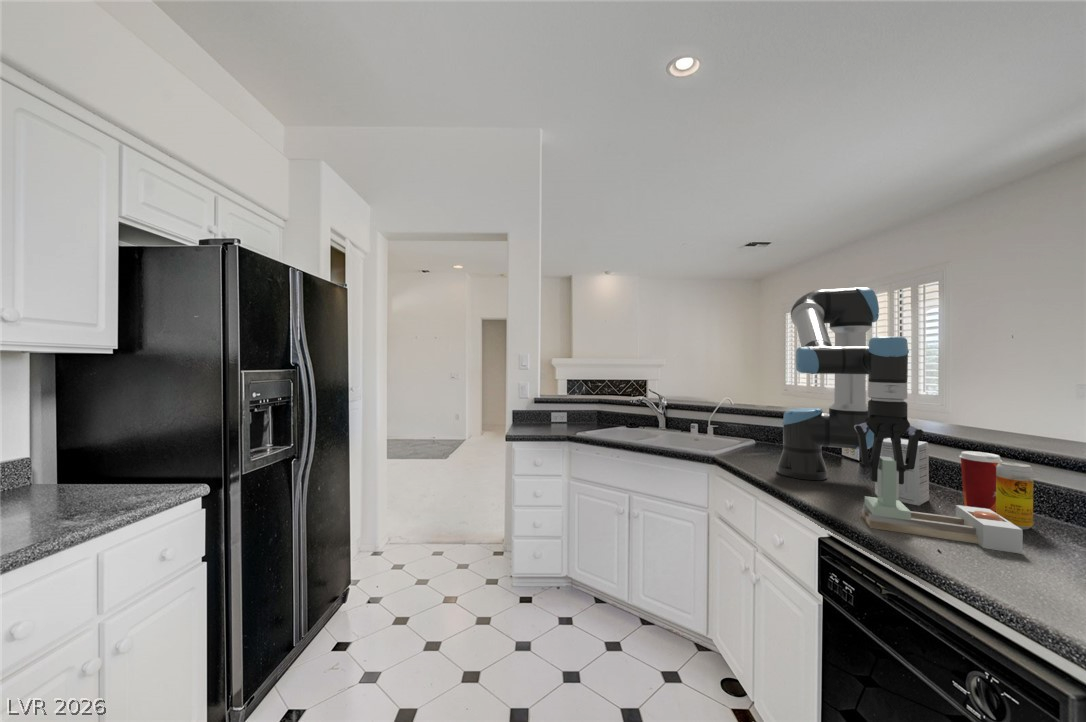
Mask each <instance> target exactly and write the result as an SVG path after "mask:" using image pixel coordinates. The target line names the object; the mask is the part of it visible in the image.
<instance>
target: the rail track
mask: <svg viewBox="0 0 1086 722" xmlns="http://www.w3.org/2000/svg"><path fill="white" fill-rule="evenodd" d="M910 511H911V510H910ZM861 516H862V518H863V519H864V520H865V523H866V524H867V525H868V526H869V528H870V529H875V530H876V529H877V530H883V531H890V532H896V533H902V534H903V533H904V534H910V535H917V536H924V537H932V538H938V539H945V540H952V541H958V542H963V543H965V542H966V543H972V544H978V536H976V528H975V527H973V526H965V525H964V519H963V518H960V517H956V516H951V515H943V514H936V513H935V514H934V513H926V512H919V511H911V520H905V519H897V518H890V517H883V516H875V515H873V514H872V513H871V512H870V510H869V509H868V508H867V506H866V505H865V504H863V505H862V510H861ZM978 545H979V544H978Z"/></svg>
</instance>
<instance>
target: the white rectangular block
mask: <svg viewBox="0 0 1086 722" xmlns="http://www.w3.org/2000/svg"><path fill="white" fill-rule="evenodd" d="M974 511H983V512H989V513H993V514H996V515H998V514H997V513H996V512H993V511H992V510H990V509H985V508H977V507H968V506H965V505H960V504H955V517H960V518H963V519H964V525H965V526H973V527H975V528H976V536H978V545H979V546H980V547H982V548H983V549H986V550H987V549H988V550H995V551H1001V552H1008V553H1015V554H1023V544H1024V543H1023V541H1024V540H1023V536H1024V535H1023V533H1024V532H1023V530H1024V529H1020V528H1019V527H1017V526H1016V525H1014V524H1012V523H1011V522H1009V521H1008V520H1006V519H1005V518H1003V517H1001V516H1000V515H998V516H1000V521H995V520H987V519H979V518H976V517H974Z"/></svg>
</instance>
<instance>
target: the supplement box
mask: <svg viewBox="0 0 1086 722" xmlns="http://www.w3.org/2000/svg"><path fill="white" fill-rule="evenodd" d="M908 440H909V439H905V438H904V439H903V438H901V448H902V454H903V461H904V464H905V460H906V453H907V446H908ZM929 451H930V450H929V442H927V441H922V440H921V441H920V440H919V441H918V447H917V454H916V460H915V467H914V469H912V470H911V469H910V470H906V471H905V472H904V483H903V484H899V499H897V498H896V500H899V501H900V502H901V503H904V504H910V505H914V506H919V507H920V506H922V505H923V504H925V503H926V502H928V501H930V472H929V471H930V468H929V467H930V466H929V465H930V464H929V462H930V460H929V459H930V457H929V454H930V453H929ZM880 456H883V457H891V458H892V459H894V454H893V448H892V442H891V438H884V439H883V442H882V447H881V453H880Z"/></svg>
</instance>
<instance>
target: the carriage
mask: <svg viewBox="0 0 1086 722" xmlns="http://www.w3.org/2000/svg"><path fill="white" fill-rule="evenodd" d="M878 467H879V468H880V469H881V470H882V497H880V496H877V497H875V496H874V497H873V496H866V495H864V505H866V506H867V508H868V509H869V510H870V512H871V513H872V514H873V515H875V516H883V517H890V518H897V519H905V520H911V510H910V509H909V508H908V507H906V505H904V504H903V502H900V501H899V500H896V461H895V460H894V459H892V458H891V457H883V456H880V459H879V465H878Z"/></svg>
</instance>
